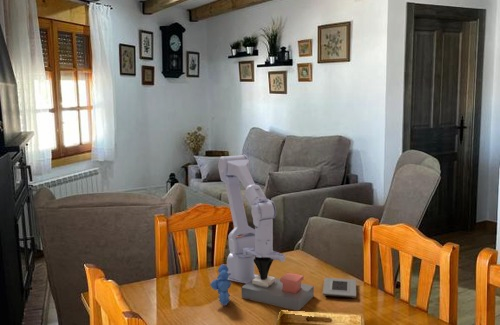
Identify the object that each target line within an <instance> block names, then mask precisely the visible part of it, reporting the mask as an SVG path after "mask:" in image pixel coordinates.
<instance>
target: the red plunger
mask: <svg viewBox="0 0 500 325" xmlns="http://www.w3.org/2000/svg"><path fill="white" fill-rule="evenodd" d="M304 277H305V276H304V275H303V274H302V275H301V274H298V273H297V274H296V273H291V272H287V273H285V274H283V275H282V276H281V277H280V278H279V279H280V282H282V283H283V291H284V292H288V293H293V294H297V293H298V292H299V291H300V290H301V283H302V281H304V279H305V278H304Z"/></svg>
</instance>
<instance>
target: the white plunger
mask: <svg viewBox="0 0 500 325" xmlns="http://www.w3.org/2000/svg"><path fill="white" fill-rule="evenodd" d="M258 275H259V276H257V277H256V278H254V279H253V280H252V283H253V284H255V285H256V286H261V287H265V288H268V287H269V286H270V285H272V284H273V282H274V281H275V278H276V277H275V276H271V275H268V276H267V279H265V280H262V279H261V278H260V274H258Z"/></svg>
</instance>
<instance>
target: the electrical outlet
mask: <svg viewBox="0 0 500 325" xmlns="http://www.w3.org/2000/svg"><path fill="white" fill-rule="evenodd" d="M322 287H323V288H322V295H323V296H327V297H329V296H330V297H340V298H353V299H355V298H356V297H357V279H349V278H348V279H347V278H346V279H345V278H335V277H324V279H323V286H322Z"/></svg>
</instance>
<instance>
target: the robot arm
mask: <svg viewBox="0 0 500 325" xmlns="http://www.w3.org/2000/svg"><path fill="white" fill-rule="evenodd" d="M217 167H218V173H219V177H220V181H222V182H223V183H224V184H225V191H226V194H227V199H228V204H229V209H230V213H231V214H230V215H231V220H232V223H233V229H232V230H231V231H230V232H229V234H228V235H227V237H228V250H229V254H228V256H227V259H226V266H227V267H228V269H229V270H228V272H227V273H228V274H229V276H228V280H229V281H230V282H231V281H232V282H237V283H242V284H244V285H245V284H247V283H248V282H250V281H251V280H253V279H254V278H255V277H257V276H258V275H260V278H261V279H262V280H265V279H267V276H269V271H270V268H271V266H272V264H273V261H279V262H281V263H284V262H285V261H286V254H285V253H281V252H278V251H275V250H274V247H273V245H274V244H273V242H274V241H273V240H274V236H273V234H274V233H273V232H274V228H273V227H274V225H273V222H274V220H273V219H275V218H276V216H277V207H276V204H275V202H274V201H273V200H270V198H267V197H266V194H265V193H264V191H263V189H262V188H261V186H260V185H259V184H256V183H255V181H254V179H253V176H252V174H251V172H250V160H249V157H248V156H247V155H246V154H238V155H229V156H228V155H227V156H224V155H223V156H220V158H219V160H218V165H217ZM240 183H241V185H242V186H243V187H244V189H245V191H244V196H245V197H246V199H247V200H246V201H248V203H249V205H250V207H251V209H250V211H251V217H252V223H253V225H254V228H253V227H251V226H250V225H249V222H248V219H247V214H246V209H245V204H244V200H243V195H242V190H241V186H240ZM255 266H256V268H257V271H258V274H255V270H256V269H255Z"/></svg>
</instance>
